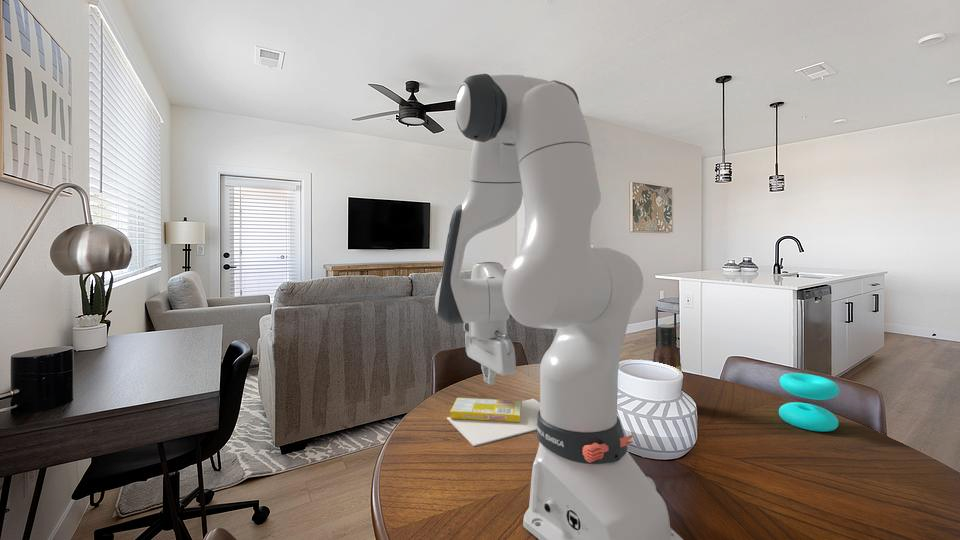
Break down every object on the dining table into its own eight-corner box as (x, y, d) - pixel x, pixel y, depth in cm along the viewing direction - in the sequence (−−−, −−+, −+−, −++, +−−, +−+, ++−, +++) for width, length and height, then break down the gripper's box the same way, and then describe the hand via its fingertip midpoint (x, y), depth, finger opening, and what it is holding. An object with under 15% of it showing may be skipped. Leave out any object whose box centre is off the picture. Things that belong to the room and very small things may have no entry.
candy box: (456, 405, 97) (449, 419, 89) (456, 396, 97) (449, 409, 89) (522, 409, 95) (520, 423, 87) (522, 400, 95) (520, 413, 86)
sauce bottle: (676, 400, 99) (676, 323, 98) (686, 410, 93) (687, 328, 92) (649, 400, 100) (649, 323, 99) (657, 410, 93) (658, 327, 92)
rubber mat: (569, 421, 88) (569, 420, 88) (473, 446, 77) (473, 445, 77) (533, 399, 101) (533, 398, 101) (446, 418, 90) (446, 417, 90)
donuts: (823, 373, 88) (851, 388, 78) (822, 416, 89) (849, 436, 79) (771, 369, 91) (792, 384, 81) (770, 411, 91) (790, 430, 82)
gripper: (522, 334, 88) (523, 394, 89) (481, 320, 106) (482, 370, 107) (497, 337, 85) (498, 399, 86) (460, 322, 104) (461, 374, 104)
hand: (489, 383), depth 97 cm, fingers closed
